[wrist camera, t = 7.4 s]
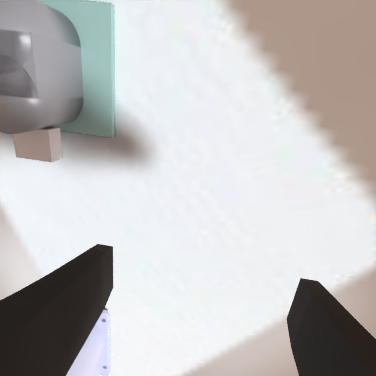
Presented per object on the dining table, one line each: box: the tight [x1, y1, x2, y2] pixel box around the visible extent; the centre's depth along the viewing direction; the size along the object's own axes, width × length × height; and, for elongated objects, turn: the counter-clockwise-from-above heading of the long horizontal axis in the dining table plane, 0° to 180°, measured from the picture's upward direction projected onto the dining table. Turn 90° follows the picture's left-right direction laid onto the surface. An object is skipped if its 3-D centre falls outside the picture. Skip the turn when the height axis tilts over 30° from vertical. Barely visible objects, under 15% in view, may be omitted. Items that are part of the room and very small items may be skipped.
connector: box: [0, 0, 83, 162], centre depth 15 cm, size 9×4×4 cm, turn 174°
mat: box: [37, 0, 115, 138], centre depth 17 cm, size 8×8×1 cm
